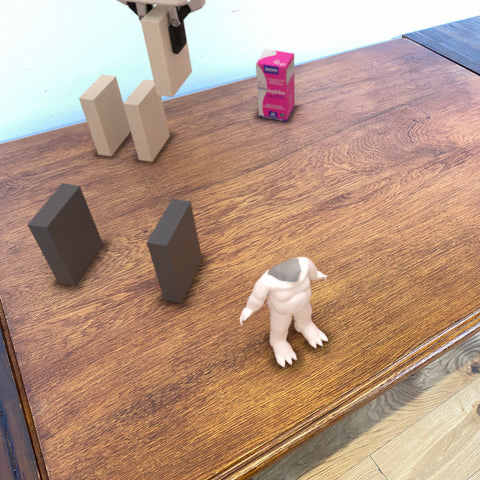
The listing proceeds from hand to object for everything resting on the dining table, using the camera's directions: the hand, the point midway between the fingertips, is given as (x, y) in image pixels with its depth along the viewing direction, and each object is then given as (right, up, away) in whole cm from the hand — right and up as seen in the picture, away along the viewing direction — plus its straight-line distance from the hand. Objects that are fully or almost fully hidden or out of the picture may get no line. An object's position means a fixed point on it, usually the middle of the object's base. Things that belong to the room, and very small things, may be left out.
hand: (168, 47), depth 74 cm
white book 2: (0, -4, +4) cm, 6 cm away
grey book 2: (+3, -33, -4) cm, 34 cm away
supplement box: (+13, -3, +26) cm, 30 cm away
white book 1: (-15, -10, +18) cm, 25 cm away
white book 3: (-8, -11, +17) cm, 22 cm away
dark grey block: (-11, -31, -2) cm, 33 cm away
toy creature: (+19, -40, -10) cm, 45 cm away
